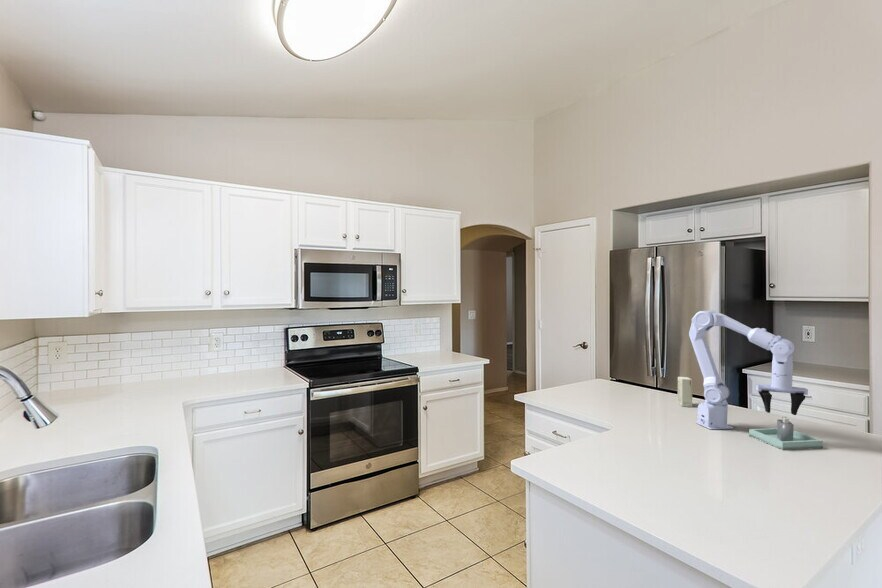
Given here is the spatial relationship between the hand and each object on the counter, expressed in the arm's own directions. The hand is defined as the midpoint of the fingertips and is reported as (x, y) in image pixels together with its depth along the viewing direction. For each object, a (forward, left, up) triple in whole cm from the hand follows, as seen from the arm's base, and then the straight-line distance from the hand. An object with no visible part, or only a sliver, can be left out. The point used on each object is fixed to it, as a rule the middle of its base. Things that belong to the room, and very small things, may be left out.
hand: (780, 413), depth 151 cm
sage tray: (0, -2, -9) cm, 10 cm away
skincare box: (-3, +44, -10) cm, 45 cm away
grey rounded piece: (0, -2, -9) cm, 9 cm away
